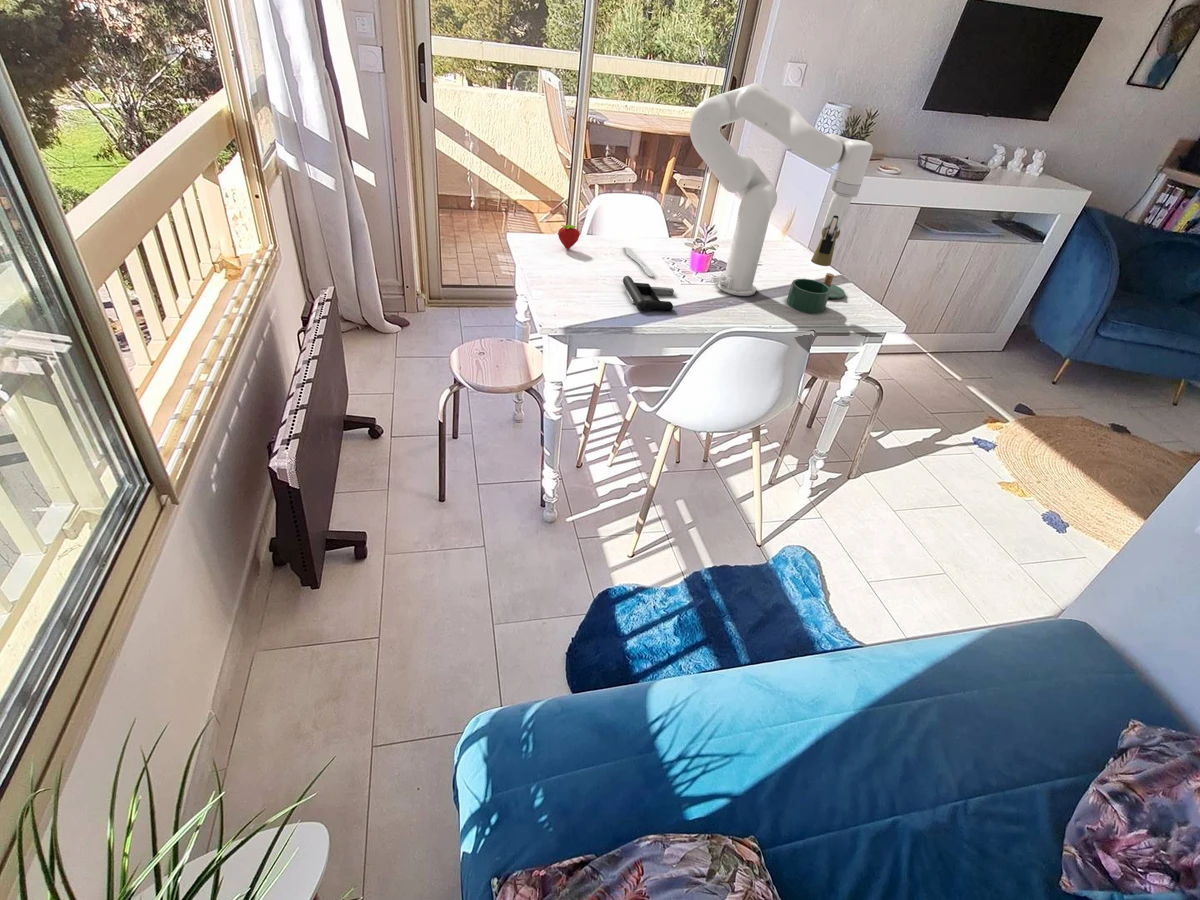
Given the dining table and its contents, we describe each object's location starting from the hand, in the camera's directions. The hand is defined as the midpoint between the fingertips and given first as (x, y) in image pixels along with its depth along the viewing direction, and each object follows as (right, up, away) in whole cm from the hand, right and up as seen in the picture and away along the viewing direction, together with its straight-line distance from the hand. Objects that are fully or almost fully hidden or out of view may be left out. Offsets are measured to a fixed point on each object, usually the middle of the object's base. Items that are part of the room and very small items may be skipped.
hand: (824, 250), depth 190 cm
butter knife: (-55, +4, +26) cm, 61 cm away
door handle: (-53, -14, +2) cm, 55 cm away
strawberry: (-80, +9, +29) cm, 85 cm away
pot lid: (+8, -7, +22) cm, 24 cm away
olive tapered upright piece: (0, -3, +2) cm, 4 cm away
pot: (-2, -14, +11) cm, 18 cm away
